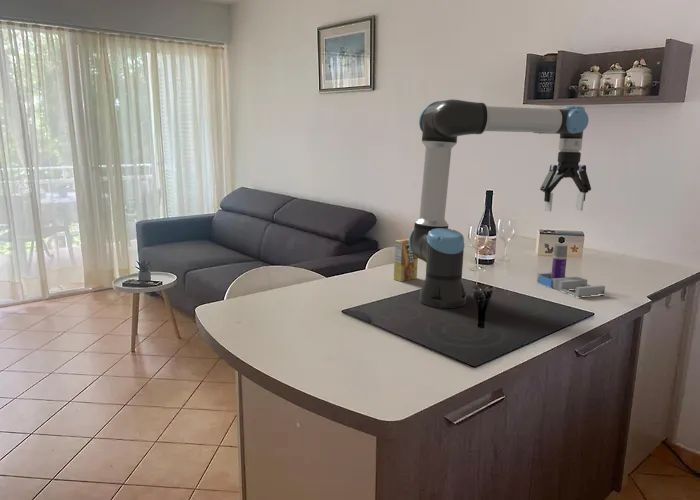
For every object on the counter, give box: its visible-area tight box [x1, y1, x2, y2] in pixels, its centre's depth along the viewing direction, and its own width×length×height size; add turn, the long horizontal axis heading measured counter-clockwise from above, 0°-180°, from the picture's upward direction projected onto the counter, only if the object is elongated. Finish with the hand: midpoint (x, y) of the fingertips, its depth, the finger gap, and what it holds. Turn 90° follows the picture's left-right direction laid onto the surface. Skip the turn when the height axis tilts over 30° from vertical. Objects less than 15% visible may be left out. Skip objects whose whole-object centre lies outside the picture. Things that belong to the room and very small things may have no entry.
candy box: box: [393, 238, 419, 282], centre depth 202 cm, size 9×4×15 cm, turn 129°
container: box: [551, 243, 568, 280], centre depth 198 cm, size 5×5×15 cm
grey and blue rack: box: [536, 271, 606, 297], centre depth 193 cm, size 12×22×4 cm, turn 18°
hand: (563, 210), depth 194 cm, fingers open, 13 cm apart
